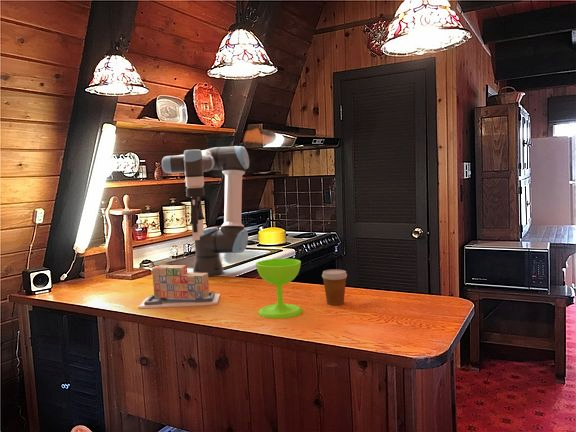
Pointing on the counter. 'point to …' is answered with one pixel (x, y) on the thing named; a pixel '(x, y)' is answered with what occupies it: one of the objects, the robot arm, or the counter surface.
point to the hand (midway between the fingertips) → (198, 237)
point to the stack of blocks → (179, 283)
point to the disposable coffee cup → (334, 286)
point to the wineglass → (279, 285)
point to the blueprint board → (178, 301)
